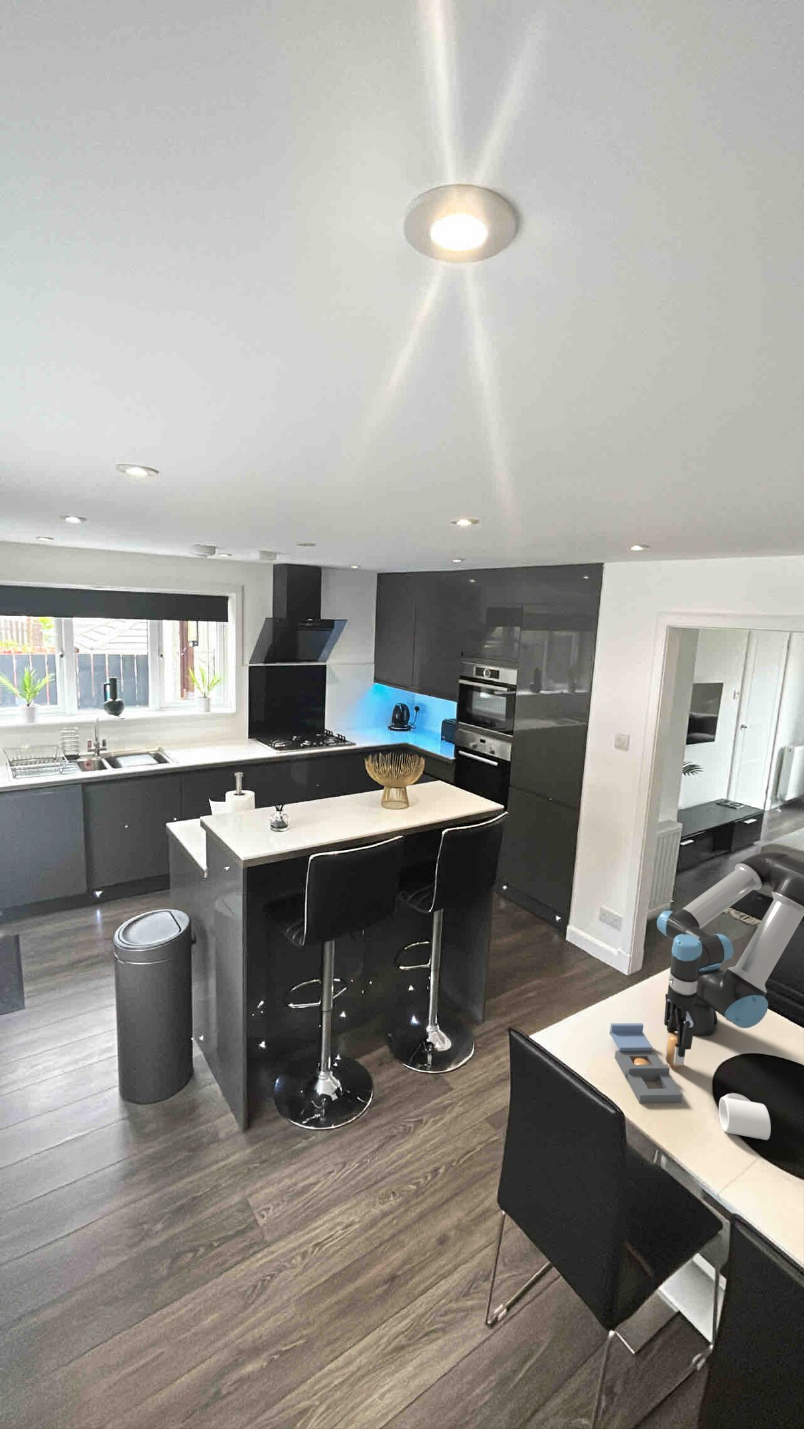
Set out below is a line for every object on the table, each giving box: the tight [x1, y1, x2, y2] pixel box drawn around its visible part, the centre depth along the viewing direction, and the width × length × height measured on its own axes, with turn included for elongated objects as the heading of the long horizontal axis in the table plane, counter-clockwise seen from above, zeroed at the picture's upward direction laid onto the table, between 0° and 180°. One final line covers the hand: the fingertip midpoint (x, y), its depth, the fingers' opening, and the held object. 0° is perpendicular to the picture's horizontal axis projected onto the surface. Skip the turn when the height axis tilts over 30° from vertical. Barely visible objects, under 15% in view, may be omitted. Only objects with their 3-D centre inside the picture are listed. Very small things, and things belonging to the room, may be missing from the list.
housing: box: [614, 1049, 684, 1104], centre depth 179 cm, size 12×17×4 cm
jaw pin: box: [665, 1032, 683, 1068], centre depth 184 cm, size 4×4×8 cm
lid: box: [609, 1022, 653, 1051], centre depth 190 cm, size 10×8×4 cm
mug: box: [718, 1092, 772, 1141], centre depth 164 cm, size 12×10×8 cm
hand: (674, 1057), depth 184 cm, fingers closed on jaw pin, 4 cm apart
